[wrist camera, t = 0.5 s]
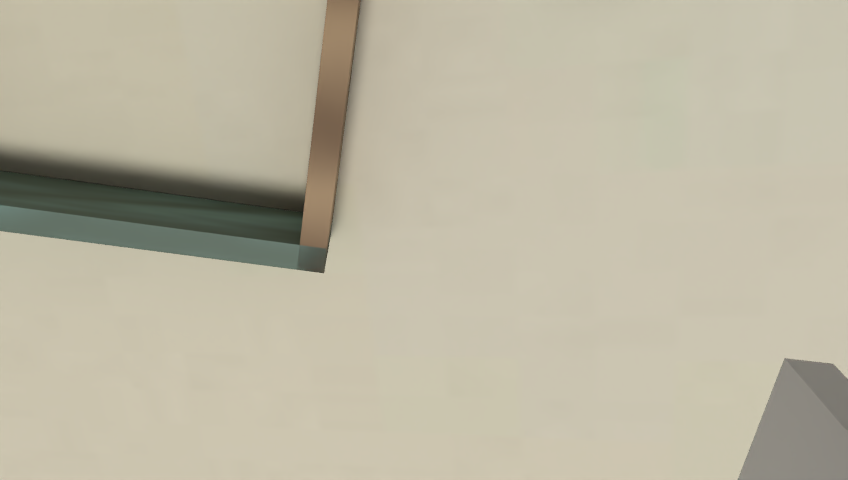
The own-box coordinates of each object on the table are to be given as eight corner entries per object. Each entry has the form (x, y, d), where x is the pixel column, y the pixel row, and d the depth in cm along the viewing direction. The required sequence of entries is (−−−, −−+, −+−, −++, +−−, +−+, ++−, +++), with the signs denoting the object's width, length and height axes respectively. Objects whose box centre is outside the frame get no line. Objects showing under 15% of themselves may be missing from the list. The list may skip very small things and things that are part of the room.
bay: (-139, -128, 32) (-209, -133, 28) (365, -41, 34) (363, -36, 30) (-110, 179, 37) (-166, 209, 33) (329, 238, 39) (323, 273, 35)
